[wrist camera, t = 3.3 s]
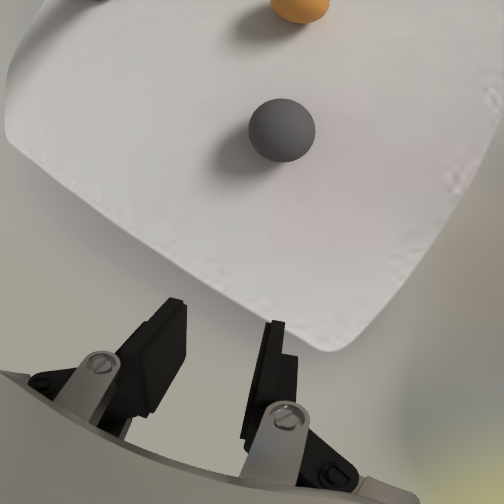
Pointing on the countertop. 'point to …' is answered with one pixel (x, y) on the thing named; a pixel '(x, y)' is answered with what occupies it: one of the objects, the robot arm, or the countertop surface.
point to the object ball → (300, 10)
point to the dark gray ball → (281, 130)
